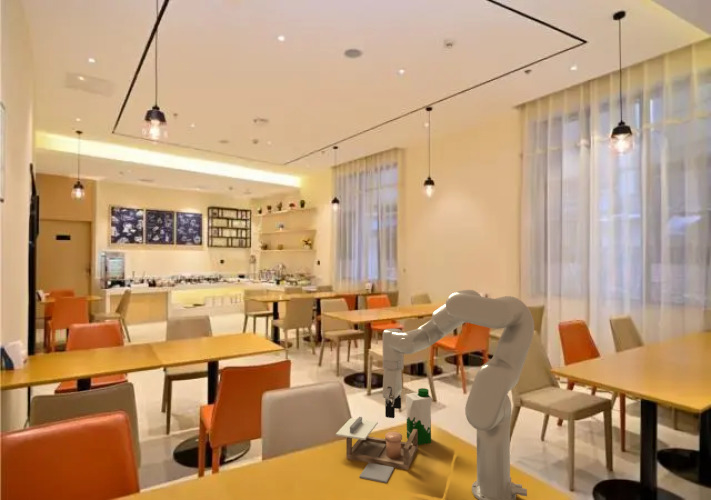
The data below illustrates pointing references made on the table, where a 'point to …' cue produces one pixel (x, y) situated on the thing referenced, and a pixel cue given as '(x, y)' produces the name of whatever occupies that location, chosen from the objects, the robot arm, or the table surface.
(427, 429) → the milk carton
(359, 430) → the lid
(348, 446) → the wooden frame crate
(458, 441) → the table surface
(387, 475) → the trivet
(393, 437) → the peach rounded knob
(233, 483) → the table surface
